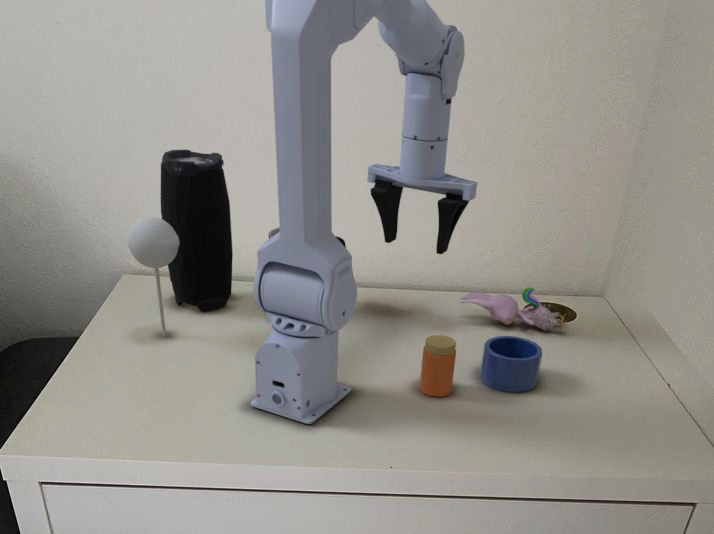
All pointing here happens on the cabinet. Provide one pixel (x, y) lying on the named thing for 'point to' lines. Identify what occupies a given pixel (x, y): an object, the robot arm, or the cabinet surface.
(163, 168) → the portable speaker
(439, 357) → the cream-capped orange cylinder
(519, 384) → the cup
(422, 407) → the cabinet surface
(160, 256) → the lollipop
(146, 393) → the cabinet surface
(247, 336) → the cabinet surface
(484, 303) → the pink toy
